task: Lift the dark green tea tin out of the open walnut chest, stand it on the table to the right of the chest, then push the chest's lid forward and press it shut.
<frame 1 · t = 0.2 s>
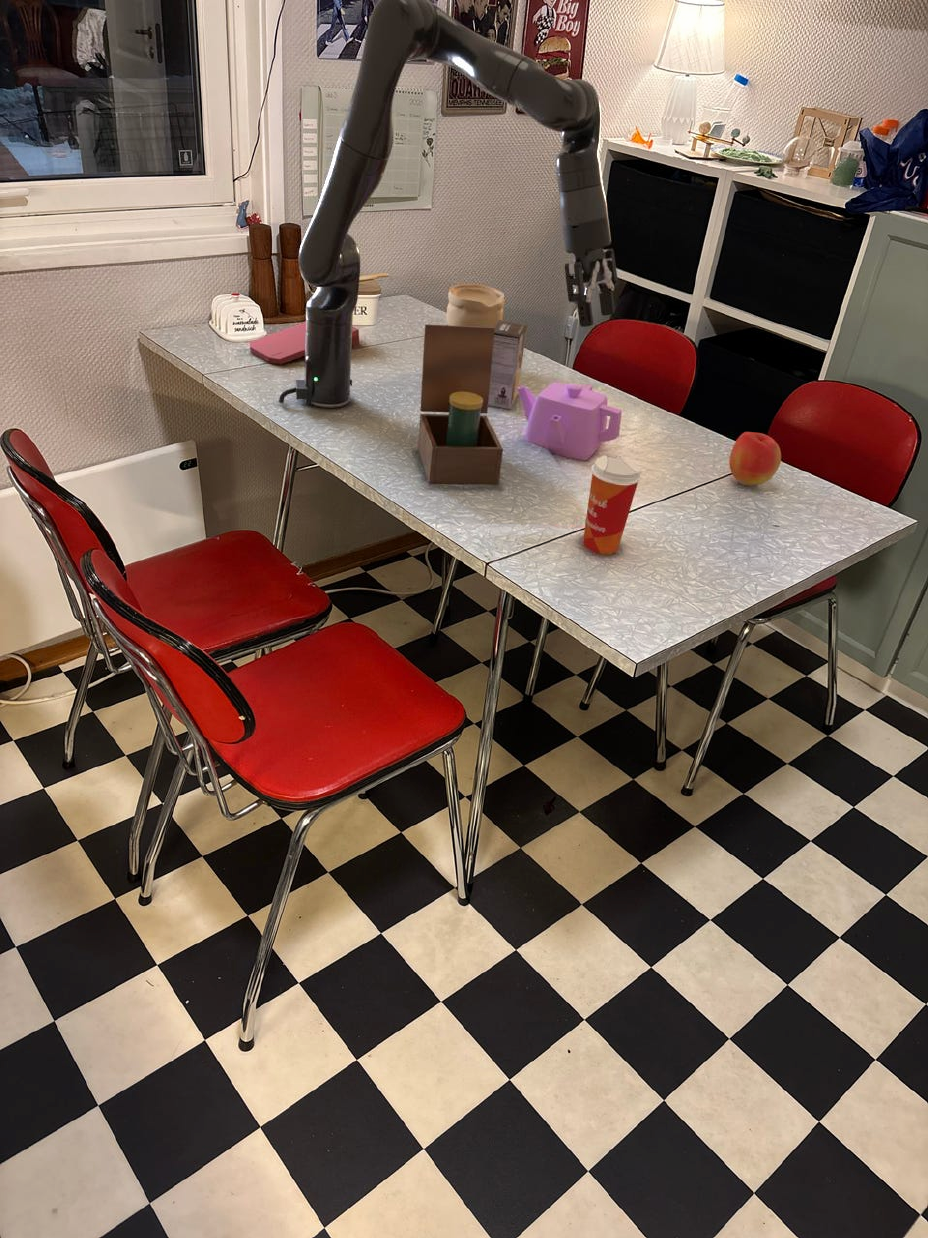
hand: (597, 320, 161), 31 cm above the table, tool tilted 20°, fingers open, 8 cm apart
apple: (746, 483, 187), on the table
tea tin: (458, 469, 176), point 1 cm above the table, touching chest
container: (468, 371, 222), on the table
coffee cup: (600, 546, 160), on the table
coffee box: (500, 400, 209), on the table
chest lid: (457, 369, 176), point 16 cm above the table, hinge at 100.0°
teakettle: (561, 444, 193), on the table
chest: (456, 469, 178), on the table
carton: (305, 349, 222), on the table
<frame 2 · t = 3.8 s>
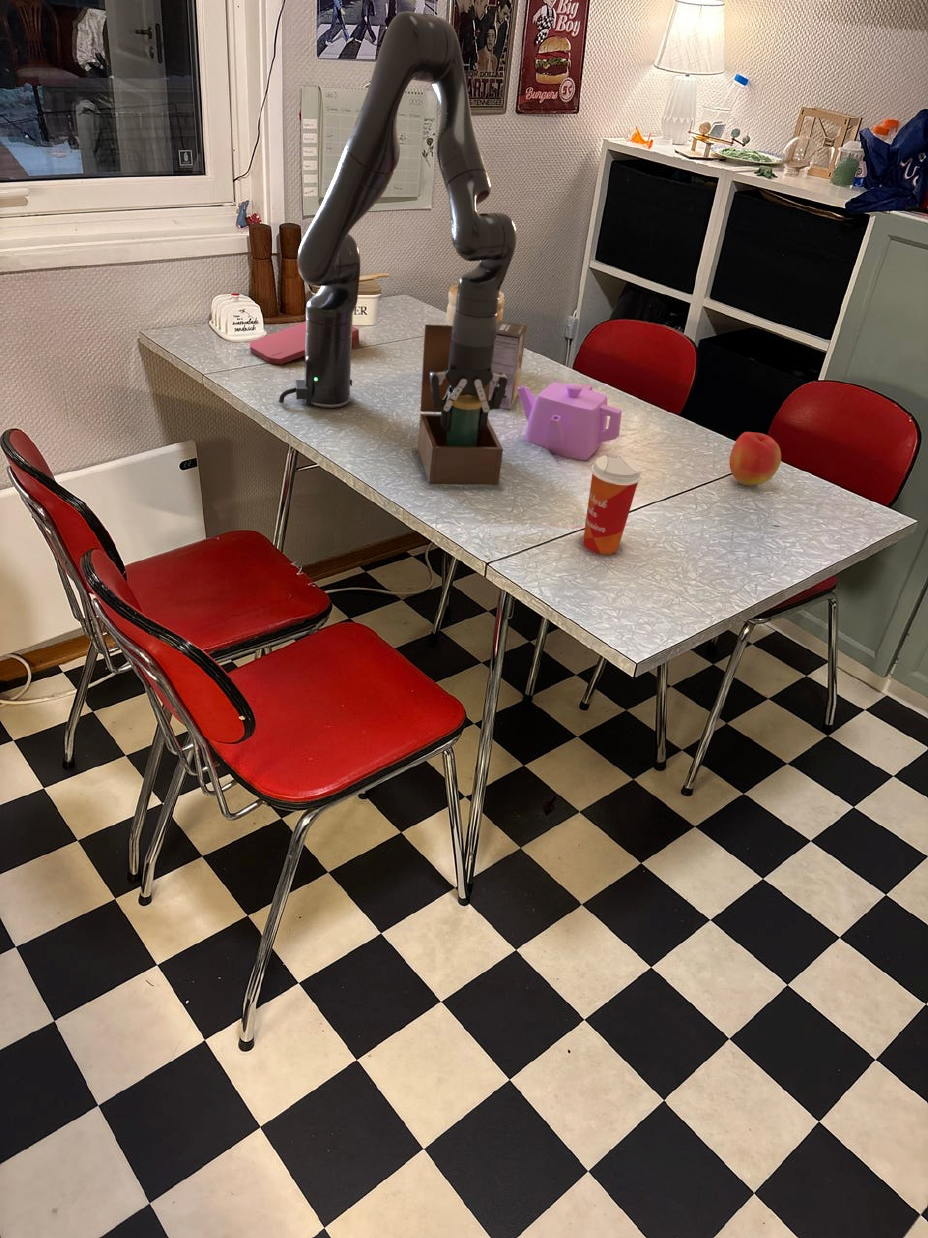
hand: (462, 428, 172), 9 cm above the table, tool pointing down, fingers closed on tea tin, 5 cm apart
tea tin: (458, 469, 176), point 1 cm above the table, touching chest, gripper
everything else where it was.
when the fingers open (8 cm above the table, at t = 11.2 s): tea tin stays where it is, on the table.
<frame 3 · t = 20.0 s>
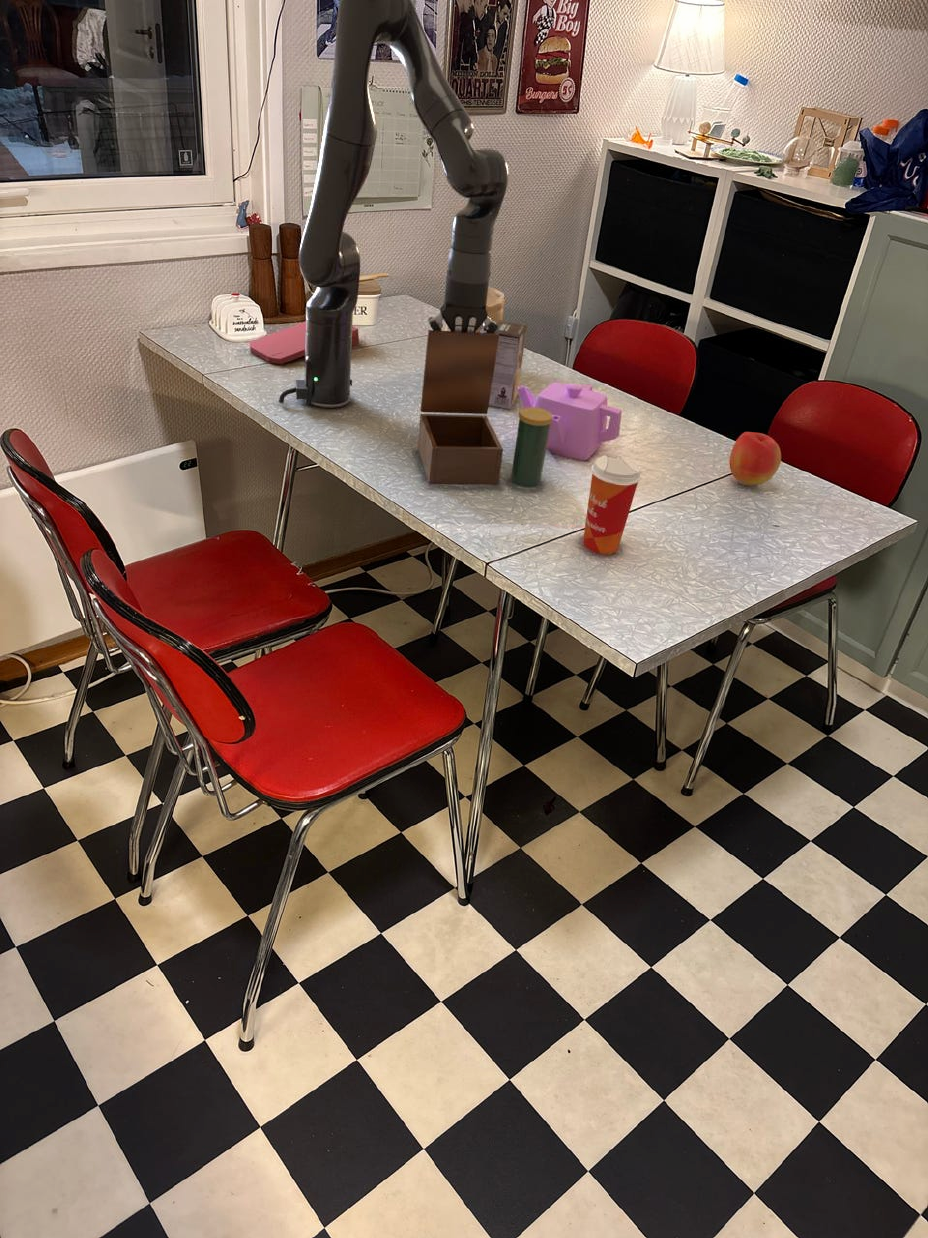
hand: (458, 370, 175), 16 cm above the table, tool pointing down, fingers closed
tea tin: (524, 484, 176), on the table
chest lid: (458, 373, 174), point 16 cm above the table, hinge at 85.5°, touching gripper
everything else where it was.
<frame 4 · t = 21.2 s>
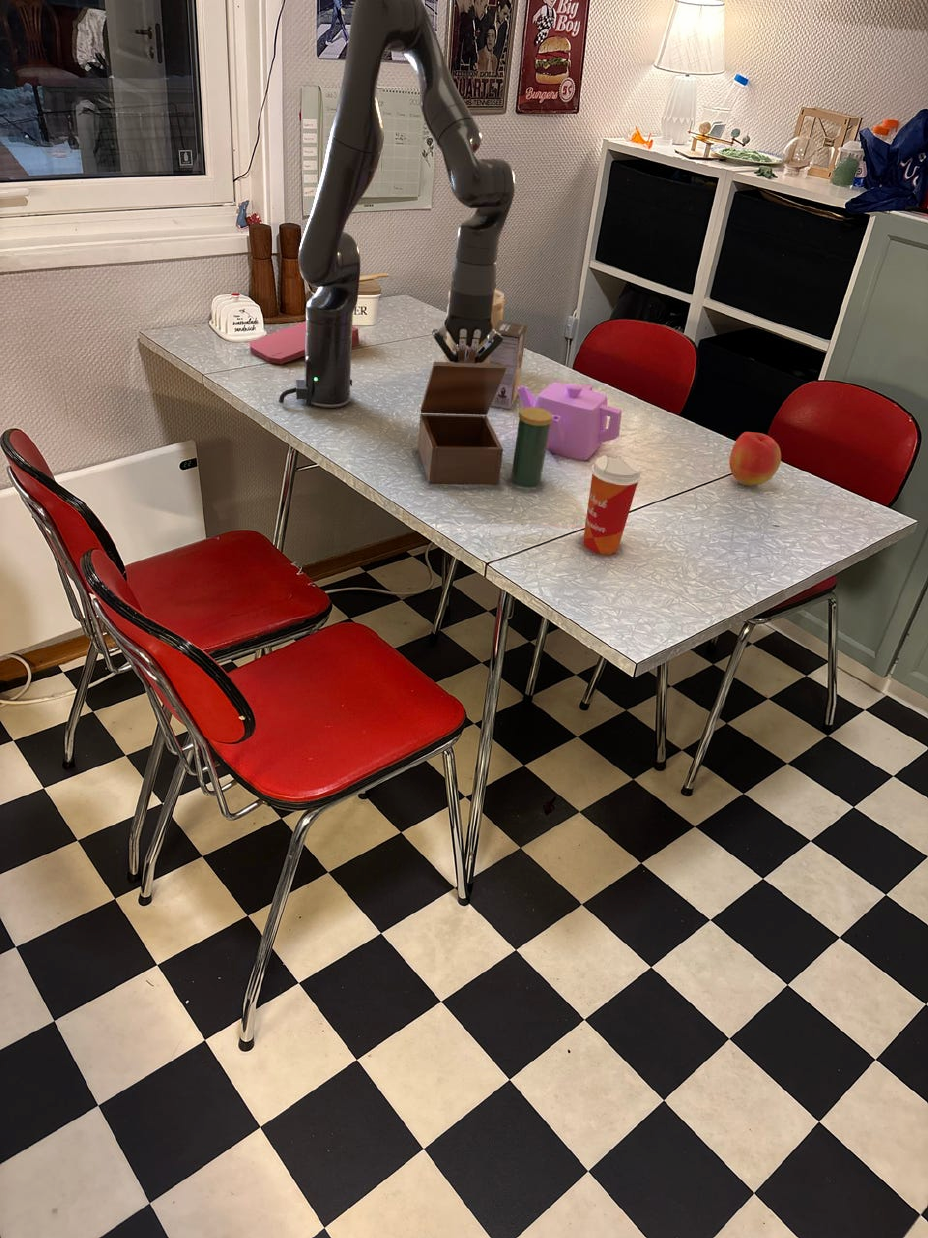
hand: (462, 383, 172), 16 cm above the table, tool pointing down, fingers closed
chest lid: (461, 389, 172), point 15 cm above the table, hinge at 53.8°, touching gripper
everything else where it was.
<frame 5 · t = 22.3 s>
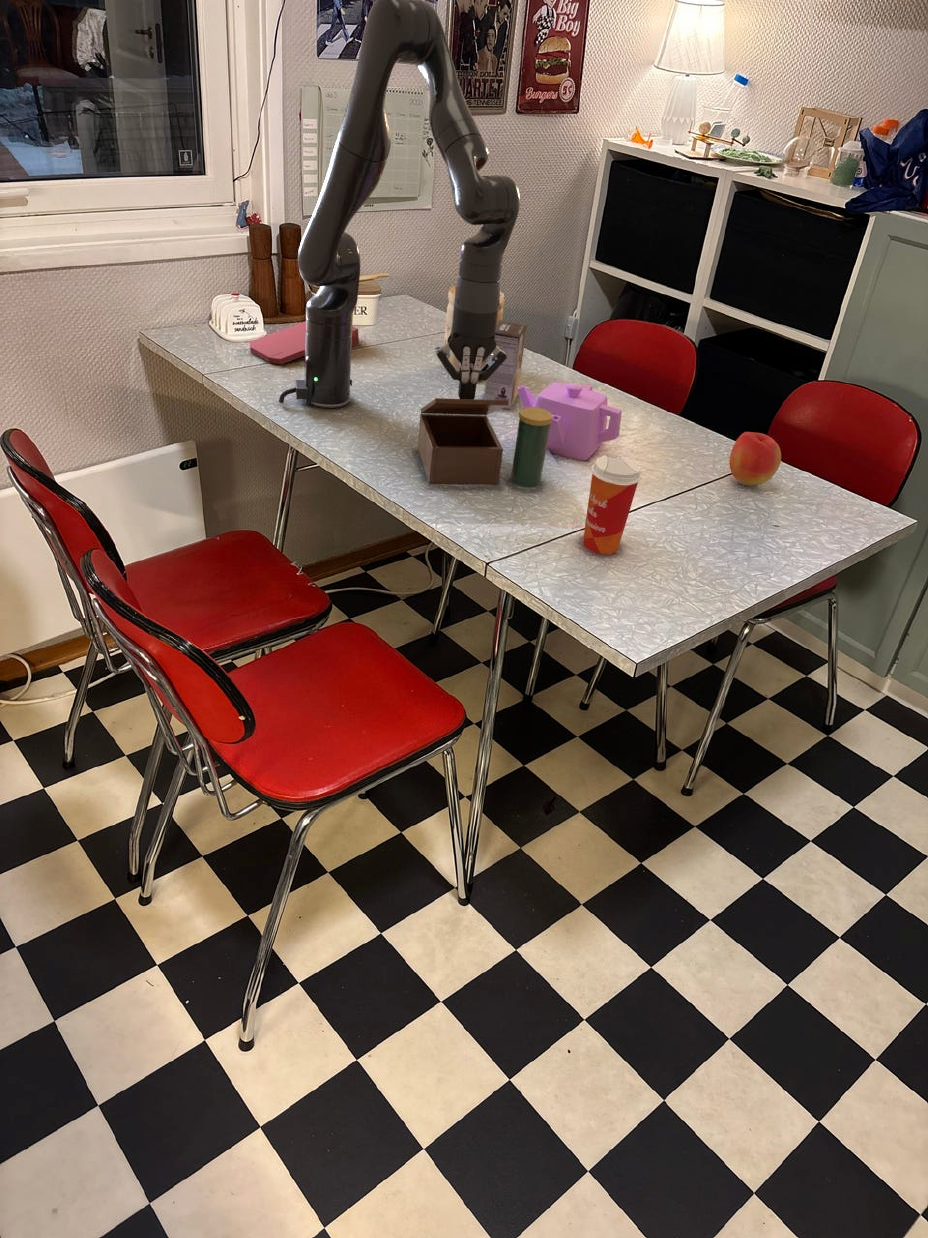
hand: (465, 401, 170), 14 cm above the table, tool pointing down, fingers closed
chest lid: (462, 407, 171), point 12 cm above the table, hinge at 29.7°, touching gripper
everything else where it was.
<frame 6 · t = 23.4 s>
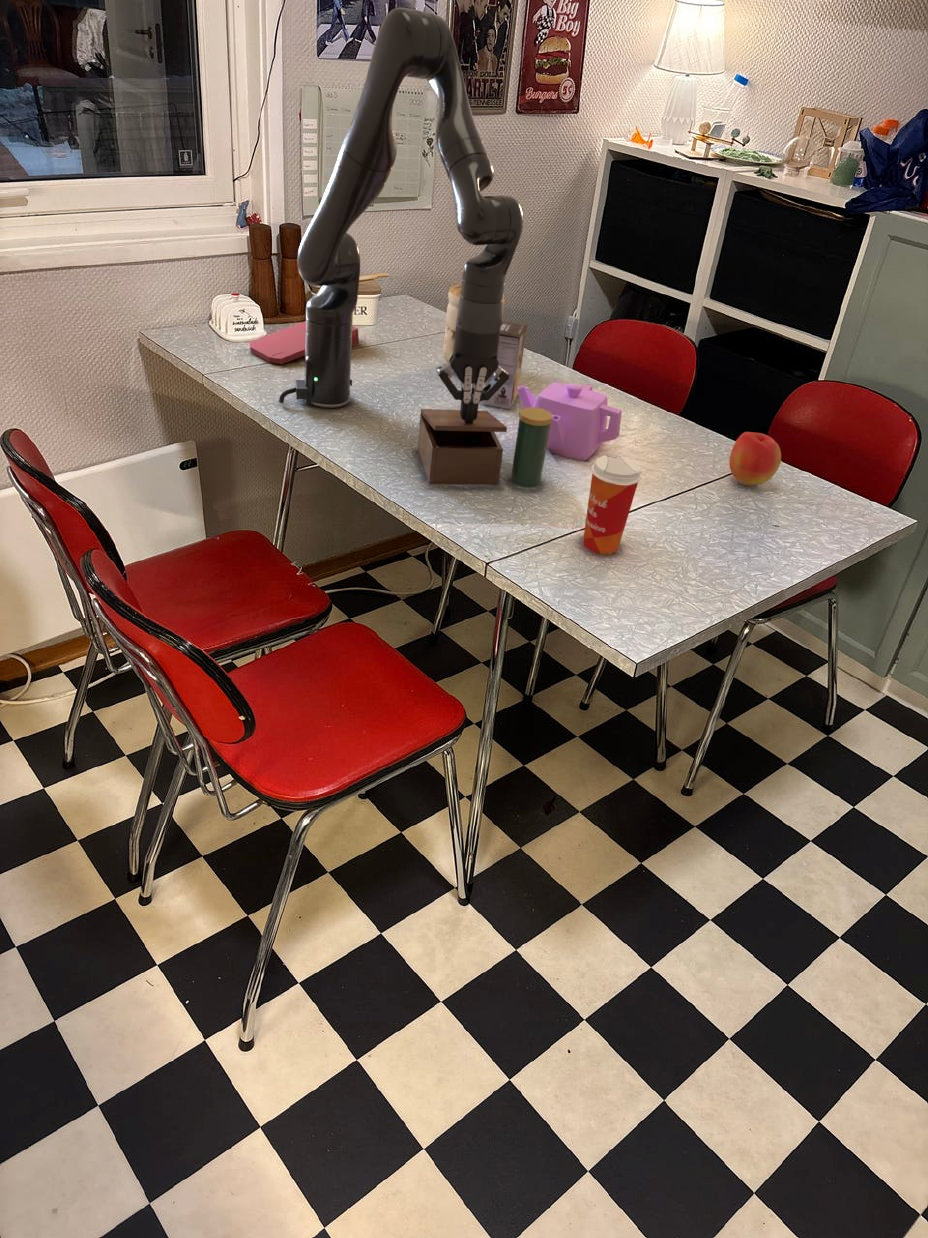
hand: (467, 421, 168), 12 cm above the table, tool pointing down, fingers closed
chest lid: (462, 420, 172), point 10 cm above the table, hinge at 12.9°, touching gripper
everything else where it was.
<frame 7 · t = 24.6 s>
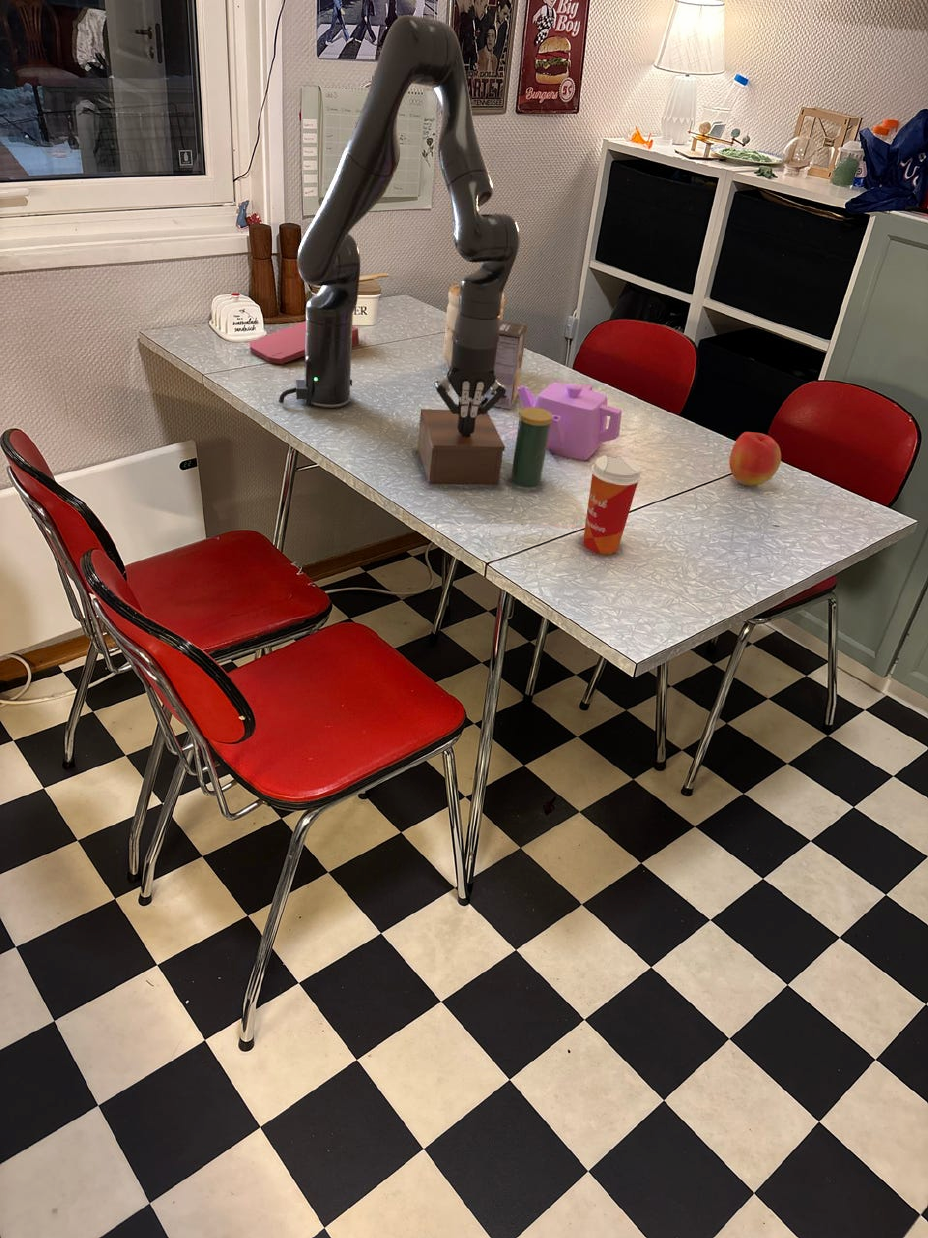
hand: (464, 434, 170), 9 cm above the table, tool pointing down, fingers closed
chest lid: (461, 429, 173), point 8 cm above the table, hinge at 0.1°, touching gripper
everything else where it was.
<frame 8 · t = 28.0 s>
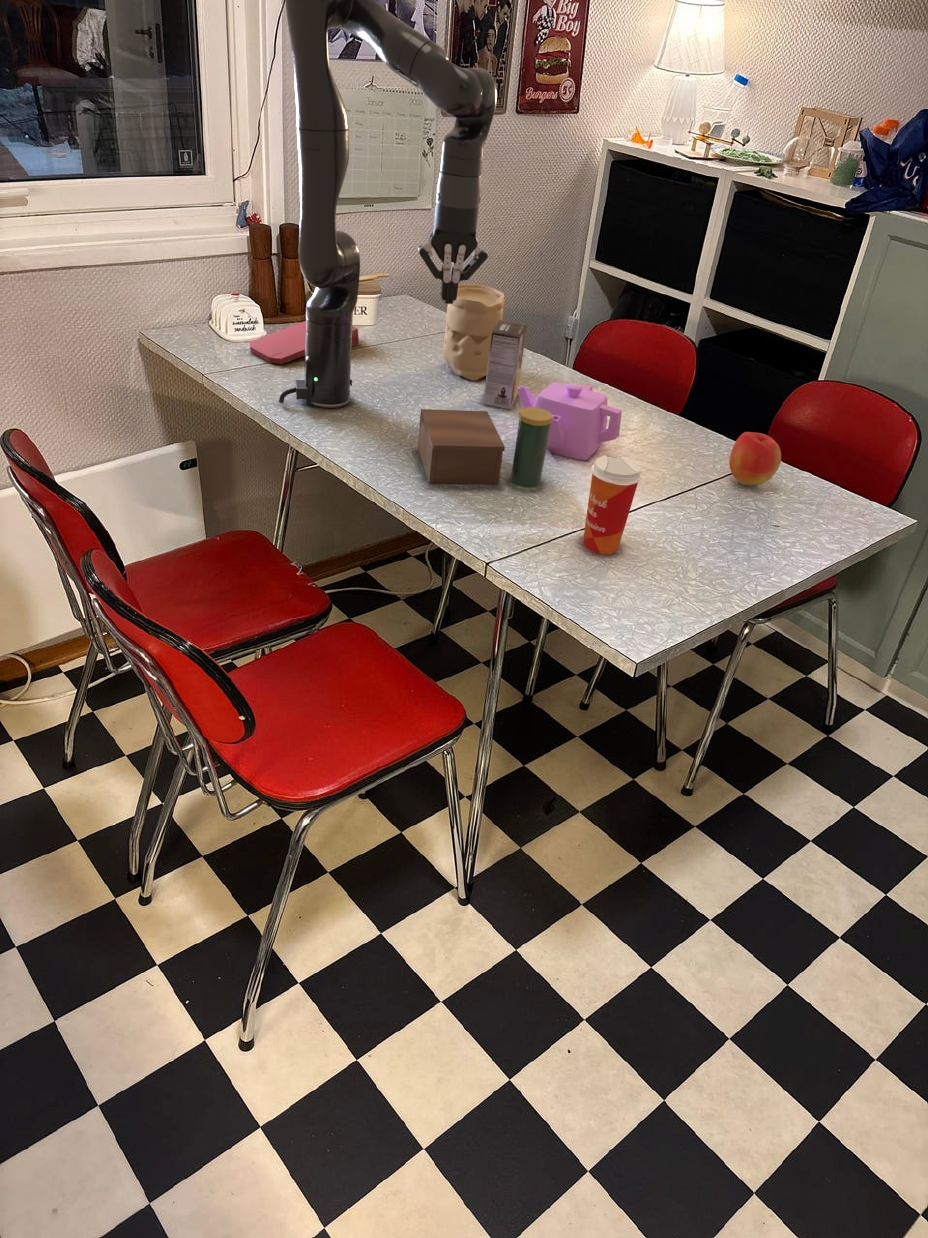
hand: (447, 302, 173), 27 cm above the table, tool pointing down, fingers closed
chest lid: (461, 429, 173), point 8 cm above the table, hinge at 0.1°
everything else where it was.
at the end: tea tin inside the target area (0.0 cm from its centre), on the table; tea tin tilted 0°; chest lid at +0° (first picture: +100°) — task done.
